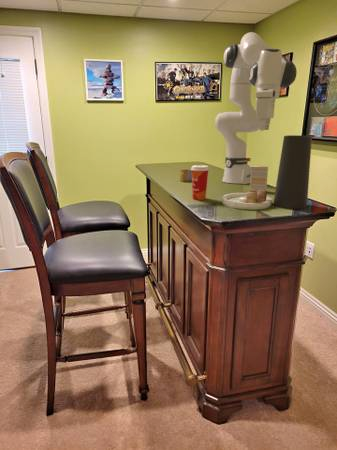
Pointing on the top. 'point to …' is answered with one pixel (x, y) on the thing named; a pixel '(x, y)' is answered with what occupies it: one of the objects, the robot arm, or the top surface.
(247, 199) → the tan egg
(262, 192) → the brown egg
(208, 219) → the top surface
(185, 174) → the mug
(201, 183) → the coffee cup
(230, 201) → the tray
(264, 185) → the supplement box
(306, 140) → the vase
